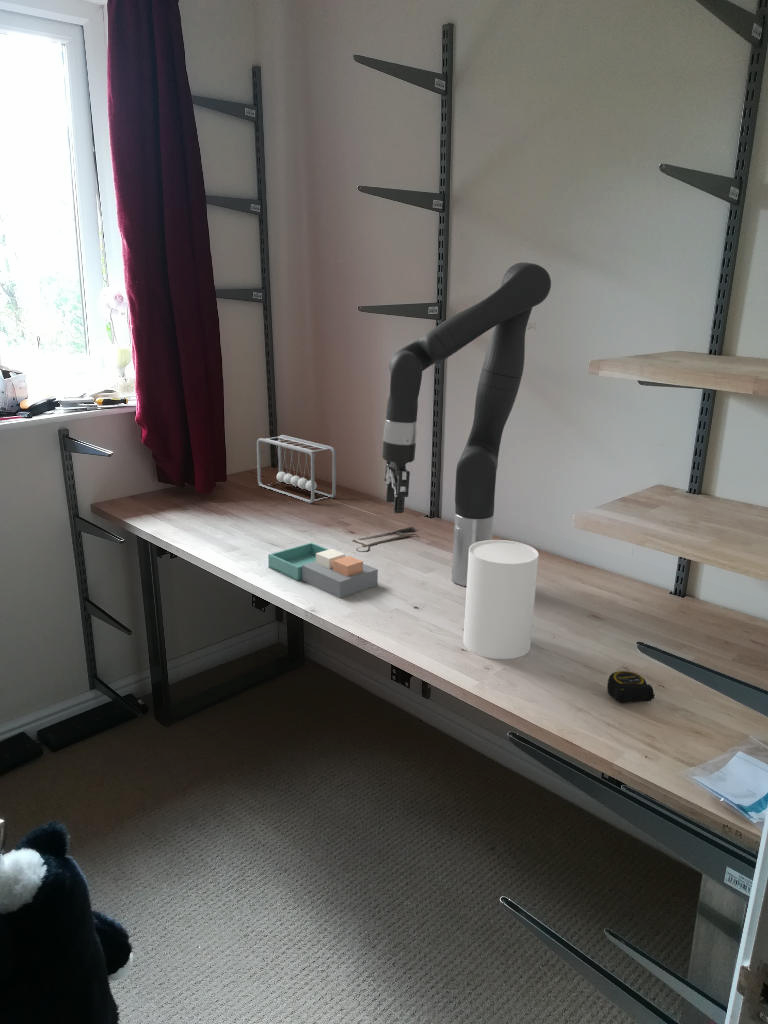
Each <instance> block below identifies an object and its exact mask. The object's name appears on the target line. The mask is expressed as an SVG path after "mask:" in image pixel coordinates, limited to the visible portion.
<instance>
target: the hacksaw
mask: <svg viewBox="0 0 768 1024" xmlns="http://www.w3.org/2000/svg"><path fill="white" fill-rule="evenodd" d="M415 530H417V529H416V528H415V527H414V526H409V527H405V528H401V529H397V530H394V531H390V532H386V533H381V534H377V535H372V536H367V537H362V538H357V540H359V541H365V540H369V539H371V540H372V539H374V538H380V537H383V536H389V535H398V536H394V537H390V538H387V539H383V540H382V539H381V540H379V541H378V540H377V541H375V542H371V543H367V544H366V543H364V542H359V541H357V540H355V539H352V540H351V541H352V543H356V544H360V545H362V546H360V547H357V548H356V550H355V551H357V552H360V553H367V552H369V551H370V549H371V547H374V546H378V545H379V544H383V543H387V542H392V541H396V540H400V539H405V538H409V537H412V536H413V535H415V536H414V538H416V537H418V536H419V535H418V534H417V533H412V532H415ZM409 532H410V533H409ZM366 547H367V550H358V549H360V548H366Z"/></svg>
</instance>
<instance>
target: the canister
mask: <svg viewBox="0 0 768 1024" xmlns="http://www.w3.org/2000/svg"><path fill="white" fill-rule="evenodd" d="M539 556H540V555H539V551H538V550H537V549H536V548H534V547H533V546H531V545H528V544H526V543H523V542H520V541H513V540H507V539H506V540H505V539H492V540H485V541H480V542H476V543H474V544H472V545H471V546H470V547H469V556H468V572H467V586H466V591H465V607H464V608H465V609H464V625H463V626H464V627H463V638H462V639H463V640H462V641H463V645H464V646H465V648H466V649H467V650H469V652H472V653H474V654H475V655H477V656H480V657H484V658H488V659H494V660H512V659H518V658H521V657H523V656H525V655H527V654H528V653H529V652H530V650H531V641H532V632H533V631H532V630H533V621H534V608H535V599H536V588H537V577H538V567H539Z"/></svg>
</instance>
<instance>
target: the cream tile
mask: <svg viewBox="0 0 768 1024" xmlns="http://www.w3.org/2000/svg"><path fill="white" fill-rule="evenodd" d="M328 549H329V550H326V551H322V552H319V553H316V563H317V564H319V565H322V566H324V567H326V568H329V569H330V568H333V561H334V560H337V559H340V558H343V557H345V556H346V554H345V553H343V552H341V551H338V550H335V549H333V548H328Z"/></svg>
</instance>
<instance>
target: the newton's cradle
mask: <svg viewBox="0 0 768 1024" xmlns="http://www.w3.org/2000/svg"><path fill="white" fill-rule="evenodd" d="M274 439H278V440H274ZM283 440H286V441H285V442H282V441H283ZM288 441H289V442H291V443H293V444H288ZM261 442H262V443H266V444H270V445H274V446H276V449H277V450H276V451H277V455H278V456H277V457H278V458H277V459H278V473H277V474H276V480H277V481H278V482H285V483H286V484H285V485H287V484H292V485H293V486H295V487H294V488H296V486H298V487H299V488H301V489H300V490H303V489H306V490H308V491H307V492H309V491H311V492H310V499H307V498H305V497H302V496H299V495H296V494H292V493H290V492H287V491H283V490H280V489H277V488H275V487H274V488H273V487H271V485H270V484H271V483H270V484H268V485H269V486H266V485H267V484H266V485H265V484H263V483H262V474H261V473H262V469H261V467H262V465H261V462H262V461H261ZM295 443H297V445H298V446H296V445H295ZM302 444H303V447H302ZM304 446H305V447H306V446H311V447H310V448H308V447H306V448H304ZM312 448H314V450H312ZM316 448H318V449H316ZM282 449H283V450H282ZM286 449H289V450H290V452H291V453H290V456H291V458H290V461H291V463H290V466H289V468H291V466H293V467H292V468H293V470H295V466H294V465H292V464H294V460H293V451H296V452H297V453H298V454H297V456H298V462H297V464H298V465H301V463H300V462H301V461H300V454H301V453H304V455H305V465H304V467H306V465H307V468H309V466H308V464H307V463H308V461H307V460H308V459H307V458H308V457H307V456H308V455H309V456H310V471H309V469H307V470H308V473H307V474H310V475H308V477H309V480H308V479H307V478H305V476H303V475H305V473H306V469H304V472H303V474H302V472H300V474H301V477H300V476H298V473H296V472H295V471H293V473H294V475H293V474H292V473H290V472H291V470H289V471H288V469H286V472H285V471H284V469H283V467H284V465H285V467H286V468H288V465H287V464H285V462H287V459H286ZM325 450H330V451H331V454H332V482H331V483H332V485H331V486H332V490H331V494H329V493H327V492H322V491H319V490H316V489H317V482H316V481H315V456H316V454H315V453H316V452H320V451H325ZM282 451H284V452H282ZM282 453H283V455H284V457H283V456H282ZM282 457H283V459H282ZM256 460H257V461H256V462H257V465H256V468H257V469H256V470H257V483H258V486H259V487H260V486H262V487H265V488H267V489H271V490H273V491H276V492H279V493H282V494H286V495H288V496H292V497H294V498H297V499H300V500H303V501H305V502H304V503H307V502H308V503H307V504H313V503H314V502H316V501H319V500H320V499H321V500H324V498H325V499H328V497H331V498H330V499H333V498H335V497H336V494H337V493H336V492H337V490H336V489H337V451H336V450H335V448H334V447H333V446H332V445H331V446H330V445H326V444H323V443H320V442H319V443H317V442H313V441H310V440H307V439H306V440H305V439H301V438H297V437H293V436H289V435H286V434H281V435H279V436H274V437H267V438H263V437H260V438H258V439H257V441H256ZM282 460H284V462H283V461H282ZM301 467H302V466H297V467H296V471H298V469H300V471H302V468H301ZM295 473H296V474H295ZM293 486H292V487H293ZM299 488H298V489H299ZM267 489H266V490H267ZM306 490H305V491H306ZM273 491H272V492H273ZM276 492H275V493H276ZM279 493H278V494H279ZM315 493H318V494H317V495H319V494H322V495H325V496H328V497H325V496H323V497H320V498H317V499H316V498H315V497H316V496H315V495H316V494H315ZM282 494H281V495H282ZM322 495H321V496H322ZM288 496H287V497H288ZM294 498H293V499H294ZM297 499H296V500H297ZM300 500H299V501H300ZM303 501H302V502H303Z"/></svg>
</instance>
